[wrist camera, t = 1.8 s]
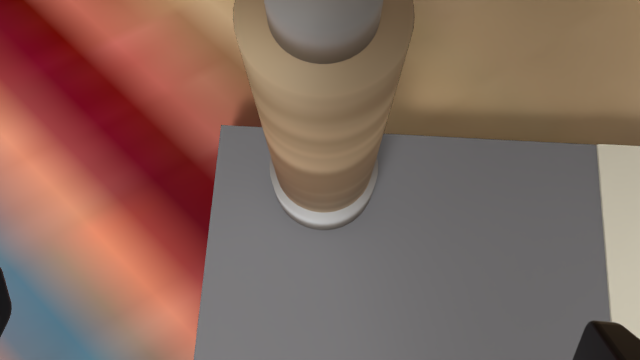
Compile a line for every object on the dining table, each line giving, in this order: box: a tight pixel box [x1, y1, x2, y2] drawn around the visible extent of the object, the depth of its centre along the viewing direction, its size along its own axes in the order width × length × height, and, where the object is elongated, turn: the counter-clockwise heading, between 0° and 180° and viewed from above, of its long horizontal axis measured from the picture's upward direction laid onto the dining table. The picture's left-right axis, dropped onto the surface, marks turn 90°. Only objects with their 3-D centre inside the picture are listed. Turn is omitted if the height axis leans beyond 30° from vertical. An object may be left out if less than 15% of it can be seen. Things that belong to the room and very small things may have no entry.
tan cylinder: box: [233, 0, 414, 230], centre depth 15 cm, size 4×4×12 cm
